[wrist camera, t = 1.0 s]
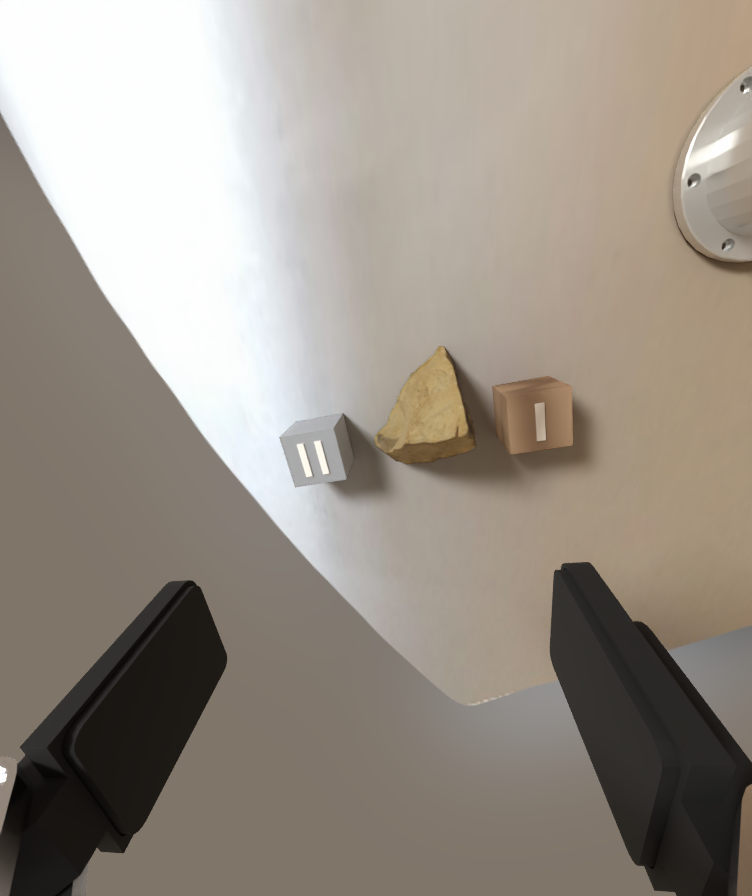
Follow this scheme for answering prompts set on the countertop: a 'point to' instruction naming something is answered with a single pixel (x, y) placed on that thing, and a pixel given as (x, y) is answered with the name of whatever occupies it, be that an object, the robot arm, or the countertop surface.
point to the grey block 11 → (318, 450)
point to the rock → (428, 416)
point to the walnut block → (533, 414)
